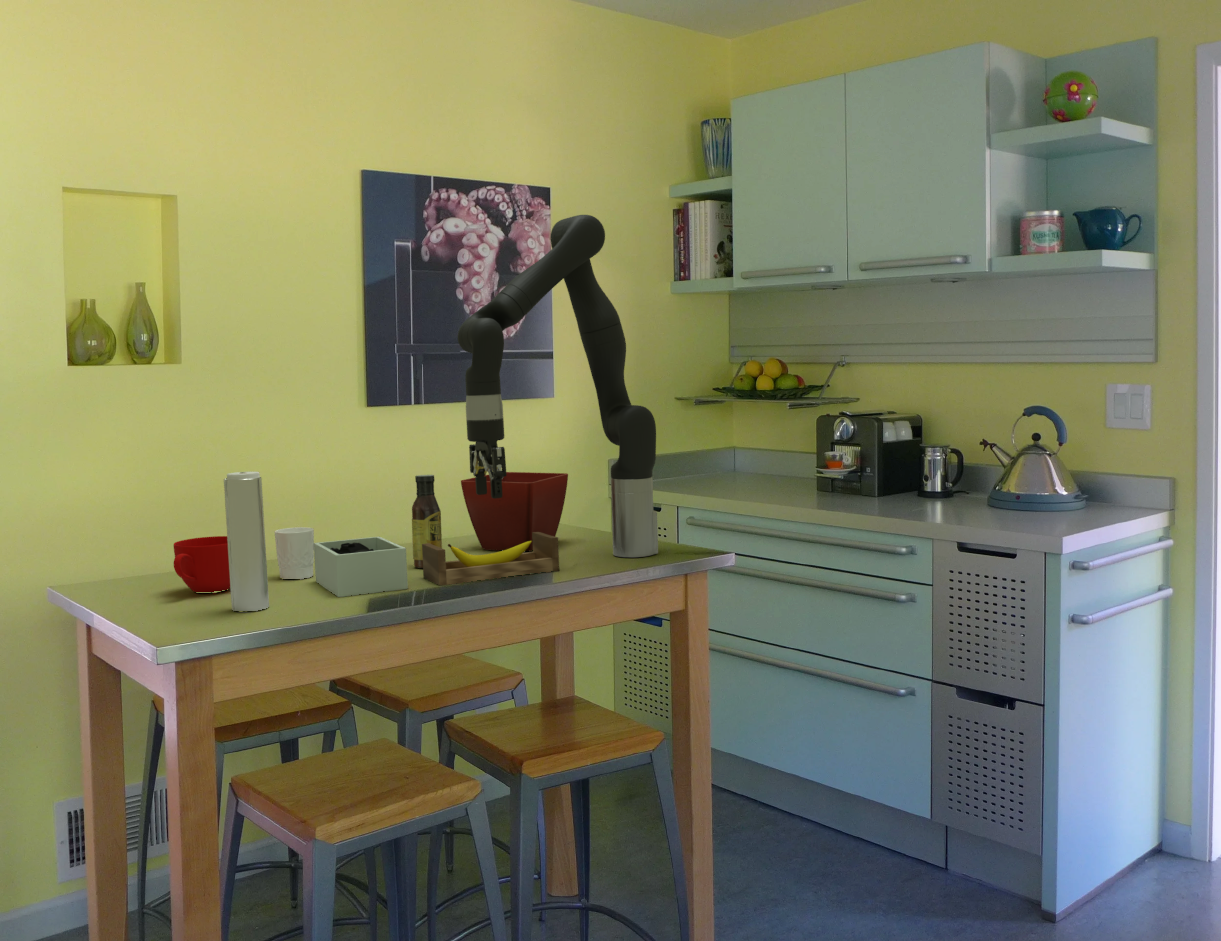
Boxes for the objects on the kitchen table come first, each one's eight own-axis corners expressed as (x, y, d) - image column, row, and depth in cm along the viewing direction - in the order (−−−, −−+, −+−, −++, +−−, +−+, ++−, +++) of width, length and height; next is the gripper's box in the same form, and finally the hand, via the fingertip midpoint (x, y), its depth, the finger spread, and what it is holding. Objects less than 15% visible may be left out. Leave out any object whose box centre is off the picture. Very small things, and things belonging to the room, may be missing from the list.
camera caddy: (381, 574, 236) (379, 536, 235) (407, 588, 219) (405, 548, 219) (315, 581, 230) (313, 542, 229) (338, 597, 213) (336, 555, 212)
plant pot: (533, 555, 253) (530, 481, 251) (461, 552, 261) (458, 480, 260) (572, 542, 270) (570, 472, 269) (503, 539, 278) (501, 471, 277)
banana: (535, 564, 236) (534, 534, 235) (452, 576, 226) (451, 545, 225) (529, 563, 238) (528, 533, 237) (446, 574, 228) (445, 543, 227)
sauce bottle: (436, 569, 239) (432, 476, 238) (409, 569, 241) (404, 476, 239) (447, 563, 246) (443, 473, 244) (420, 563, 247) (416, 473, 245)
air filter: (236, 605, 208) (228, 471, 206) (272, 604, 209) (264, 470, 206) (228, 613, 202) (219, 474, 199) (264, 611, 202) (256, 473, 200)
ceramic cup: (149, 601, 215) (145, 549, 214) (203, 583, 231) (200, 535, 230) (207, 602, 212) (204, 550, 211) (258, 585, 228) (255, 536, 227)
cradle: (539, 563, 242) (538, 531, 242) (559, 570, 233) (558, 537, 233) (423, 577, 230) (421, 543, 230) (439, 585, 222) (437, 550, 221)
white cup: (324, 574, 237) (321, 527, 236) (299, 581, 230) (296, 533, 229) (294, 572, 241) (292, 526, 240) (269, 579, 233) (266, 532, 233)
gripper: (515, 417, 224) (519, 497, 226) (489, 415, 237) (493, 491, 238) (480, 419, 221) (484, 501, 222) (455, 417, 233) (459, 495, 235)
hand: (489, 496), depth 230 cm, fingers open, 8 cm apart
